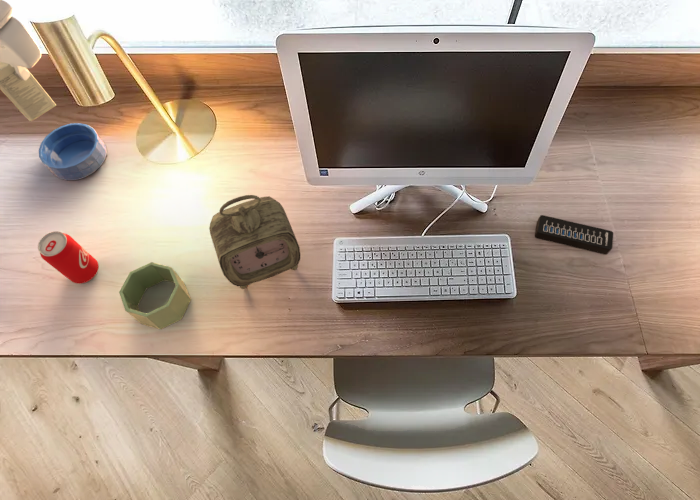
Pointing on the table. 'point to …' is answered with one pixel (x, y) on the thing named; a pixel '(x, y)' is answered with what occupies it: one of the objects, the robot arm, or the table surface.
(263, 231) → the tabletop clock
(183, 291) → the green octagonal planter
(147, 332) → the table surface
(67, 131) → the bowl
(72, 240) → the beverage can
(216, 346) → the table surface
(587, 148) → the table surface
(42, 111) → the cosmetic box
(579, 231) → the multiport hub
